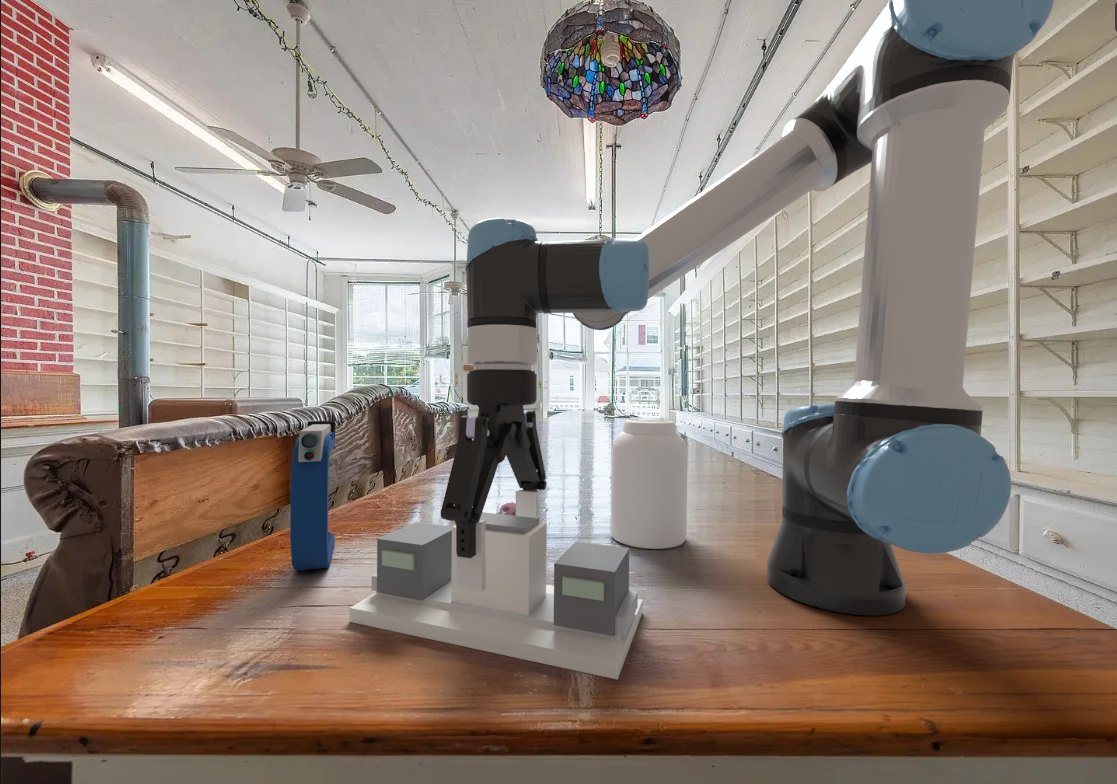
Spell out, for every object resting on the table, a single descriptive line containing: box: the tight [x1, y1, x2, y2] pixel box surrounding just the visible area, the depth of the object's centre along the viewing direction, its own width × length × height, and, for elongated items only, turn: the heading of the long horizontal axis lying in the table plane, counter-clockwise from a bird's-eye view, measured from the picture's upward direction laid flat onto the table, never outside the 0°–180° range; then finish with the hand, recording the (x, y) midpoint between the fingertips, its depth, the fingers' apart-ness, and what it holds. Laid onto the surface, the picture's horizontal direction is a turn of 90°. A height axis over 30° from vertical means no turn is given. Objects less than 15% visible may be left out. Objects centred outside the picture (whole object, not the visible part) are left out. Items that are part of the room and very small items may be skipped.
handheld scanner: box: [289, 420, 336, 572], centre depth 68 cm, size 5×16×20 cm, turn 21°
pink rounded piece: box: [496, 501, 516, 516], centre depth 80 cm, size 10×5×7 cm, turn 169°
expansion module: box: [451, 511, 548, 615], centre depth 52 cm, size 5×9×9 cm, turn 71°
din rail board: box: [349, 521, 644, 680], centre depth 52 cm, size 29×13×8 cm, turn 71°
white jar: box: [610, 418, 689, 550], centre depth 80 cm, size 12×12×20 cm
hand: (502, 563), depth 52 cm, fingers open, 13 cm apart
